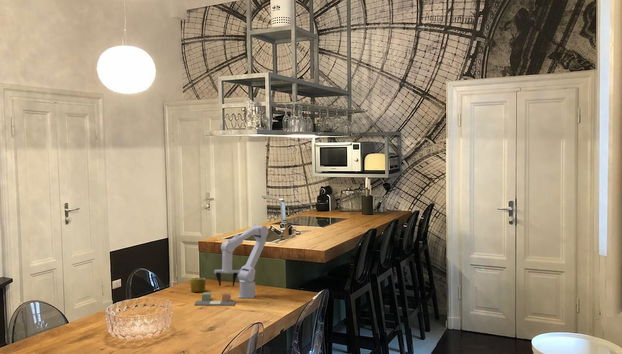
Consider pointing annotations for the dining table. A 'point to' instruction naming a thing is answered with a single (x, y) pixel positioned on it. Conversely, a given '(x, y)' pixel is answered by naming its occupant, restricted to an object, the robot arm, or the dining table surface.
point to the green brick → (206, 296)
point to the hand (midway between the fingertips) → (226, 285)
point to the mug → (198, 284)
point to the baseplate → (216, 303)
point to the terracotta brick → (226, 296)
